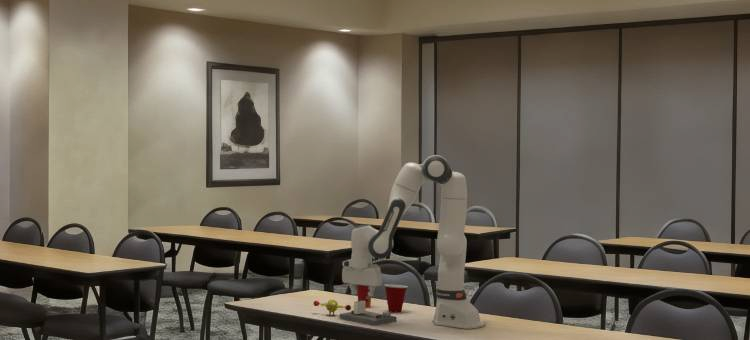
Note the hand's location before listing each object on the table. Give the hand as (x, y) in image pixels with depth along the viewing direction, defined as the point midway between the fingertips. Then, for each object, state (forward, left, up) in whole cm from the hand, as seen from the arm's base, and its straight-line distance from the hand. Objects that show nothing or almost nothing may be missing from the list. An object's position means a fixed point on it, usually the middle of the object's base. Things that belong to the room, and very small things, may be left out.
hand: (362, 295), depth 404 cm
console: (-3, 0, -10) cm, 11 cm away
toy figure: (+14, +4, -10) cm, 18 cm away
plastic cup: (+3, -25, -10) cm, 28 cm away
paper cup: (+20, -23, -10) cm, 32 cm away
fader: (+1, +1, -8) cm, 8 cm away
